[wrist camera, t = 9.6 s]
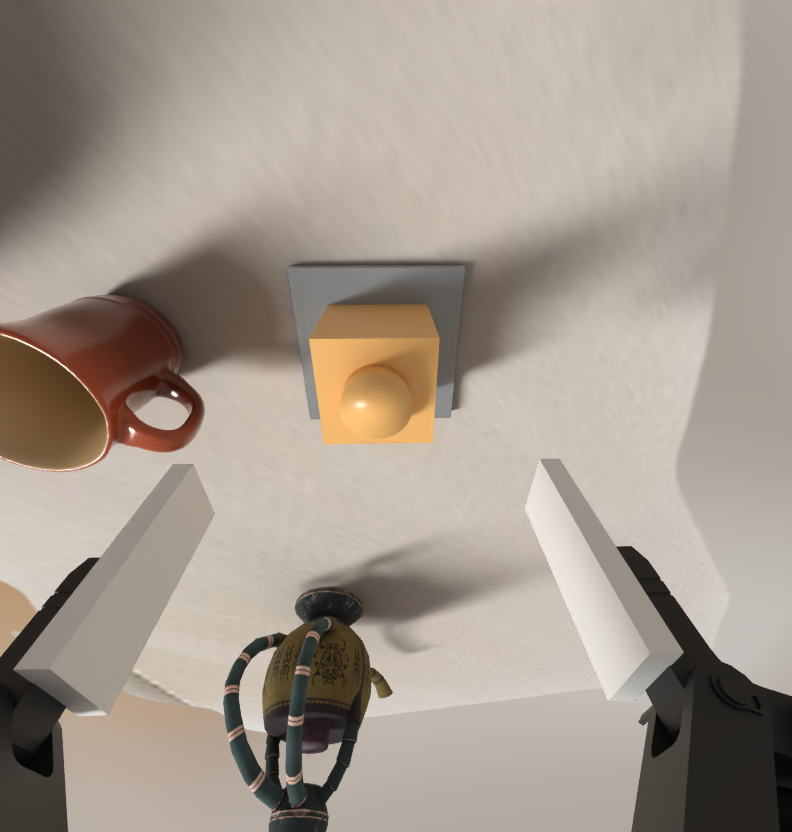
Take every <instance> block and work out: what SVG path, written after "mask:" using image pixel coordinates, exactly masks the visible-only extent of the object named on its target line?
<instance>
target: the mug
mask: <svg viewBox="0 0 792 832" xmlns="http://www.w3.org/2000/svg"><path fill="white" fill-rule="evenodd" d="M182 358H183V349H182V345H181V342H180V340H179V338H178V336H177V334H176V332H175V331H174V329H173V328H172V326H171V325H170V324H169V322H168V321H167V320H166V319H165V318H164V317H163V316H162V315H161V314H160V313H158V312H157V311H156V310H155V309H153V308H152V307H150V306H148V305H147V304H145V303H143V302H141V301H139V300H136V299H133V298H130V297H126V296H121V295H99V296H93V297H84V298H80V299H77V300H74V301H72V302H71V303H68V304H65V305H62V306H59V307H56V308H53V309H51V310H48V311H45V312H43V313H41V314H38V315H36V316H33V317H31V318H28V319H25V320H21V321H16V322H7V323H0V458H1V459H4V460H6V461H9V462H11V463H14V464H17V465H21V466H24V467H28V468H32V469H37V470H43V471H52V472H67V471H76V470H80V469H84V468H87V467H89V466H92V465H94V464H96V463H98V462H99V461H101V460H102V459H104V458H105V457H106V455H107V454H108V453H109V451H110V449H111V448H112V447H113V445H115V444H117V443H120V444H124V445H127V446H132V447H138V448H142V449H145V450H149V451H154V452H173V451H177V450H180V449H182V448H184V447H185V446H187V445H188V444H189V443H190V442H191V441H192V440H193V439H194V437H195V436H196V435H197V433H198V432H199V430H200V428H201V425H202V422H203V419H204V414H205V408H204V402H203V400H202V398H201V396H200V395H199V393H198V392H197V391H196V390H195V389H194V388H193V387H192V386H190V385H189V384H188V383H187V382H186V381H185V380H184V379H183V378H182V377H181V376H179V375H178V374H177V372H178V371H179V369H180V367H181V364H182ZM155 397H165V398H169V399H172V400H175V401H177V402H179V403H180V404H182V405H183V406H184V407H185V408H186V409H187V411H188V413H189V417H188V418H187V420H186V421H185V423H184V424H183V425H182V426H181V427H179V428H178V429H175V430H161V429H157V428H154V427H152V426H149V425H147V424H145V423H144V422H142V421H141V420H140V419H139V418H138V417H137V416H136V415H135V414H134V413H135V412H136V411H138V410H139V409H140V408H142V407H143V406H144V405H146V404H147V403H148V402H150V401H151V400H152V399H153V398H155Z"/></svg>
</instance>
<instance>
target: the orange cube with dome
mask: <svg viewBox="0 0 792 832" xmlns="http://www.w3.org/2000/svg"><path fill="white" fill-rule="evenodd" d="M439 341H440V337H439V335H438V332H437V329H436V327H435V324H434V321H433V319H432V316H431V313H430V311H429V308H428V305H427V304H377V305H328V306H327V308H326V310H325V311H324V313H323V315H322V317H321V319H320V320H319V322H318V324H317V326H316V328H315V329H314V331H313V333H312V335H311V337H310V338H309V342H310V349H311V356H312V363H313V370H314V377H315V385H316V392H317V399H318V406H319V413H320V420H321V427H322V434H323V441H324V444H367V443H433V429H434V414H435V400H436V385H437V370H438V355H439Z"/></svg>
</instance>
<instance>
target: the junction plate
mask: <svg viewBox="0 0 792 832" xmlns="http://www.w3.org/2000/svg"><path fill="white" fill-rule="evenodd" d="M465 270H466V267H465V266H463V265H344V266H289V267H288V268H287V274H288V280H289V286H290V293H291V299H292V305H293V312H294V318H295V324H296V331H297V337H298V344H299V350H300V356H301V363H302V369H303V375H304V382H305V388H306V394H307V401H308V407H309V413H310V419H320V413H319V406H318V399H317V392H316V385H315V377H314V370H313V363H312V356H311V349H310V342H309V338H310V337H311V335H312V333H313V331H314V329H315V328H316V326H317V324H318V322H319V320H320V319H321V317H322V315H323V313H324V311H325V310H326V308H327V306H328V305H377V304H427V305H428V308H429V311H430V313H431V316H432V319H433V321H434V324H435V327H436V329H437V332H438V335H439V337H440V341H439V355H438V370H437V385H436V400H435V414H434V418H451V410H452V400H453V390H454V380H455V370H456V360H457V350H458V340H459V330H460V320H461V310H462V300H463V290H464V280H465Z"/></svg>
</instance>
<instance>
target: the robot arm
mask: <svg viewBox="0 0 792 832" xmlns="http://www.w3.org/2000/svg"><path fill="white" fill-rule="evenodd" d="M525 510H526V512H527V515H528V517H529V519H530V522H531V524H532V526H533V529H534V531H535V533H536V535H537V538H538V540H539V542H540V545H541V547H542V549H543V552H544V554H545V556H546V558H547V561H548V563H549V565H550V568H551V570H552V572H553V575H554V577H555V579H556V582H557V584H558V586H559V588H560V591H561V593H562V595H563V598H564V600H565V602H566V605H567V607H568V609H569V611H570V614H571V616H572V618H573V621H574V623H575V625H576V628H577V630H578V632H579V635H580V637H581V639H582V641H583V644H584V646H585V648H586V651H587V653H588V655H589V658H590V660H591V662H592V665H593V667H594V669H595V671H596V674H597V676H598V678H599V681H600V683H601V685H602V688H603V690H604V692H605V694H606V697H607V699H608V701H626V700H637V699H638V698H639V697H640V696H641V695H642V694H643V693H644V692H645V691H646V692H647V694H648V696H649V698H650V700H651V702H652V704H653V705H652V706H651V707H650V708H649V709H648V710H647V711H646V712H645V713H643V714H642V716H641V718H640V720H639V723H640V724H642V725H644V724H646V723H647V722H648V728H647V734H646V741H645V747H644V754H643V760H642V766H641V773H640V780H639V786H638V792H637V799H636V805H635V812H634V818H633V825H632V832H792V696H789V695H786V694H782V693H779V692H776V691H773V690H770V689H767V688H763V687H761V686H758V685H756V684H753V683H752V682H751V681H750V680H749V679H748V678H747V677H746V676H745V675H744V674H742V673H741V672H739V671H738V670H736V669H735V668H734V667H732V666H731V665H728V664H725V663H723V662H721V661H720V660H719V659H718V658H717V656H716V655H715V654H714V653H713V651H712V650H711V649H710V648H709V646H708V645H707V643H706V642H705V640H704V639H703V638H702V636H701V635H700V633H699V632H698V631H697V629H696V628H695V626H694V625H693V623H692V622H691V621H690V619H689V618H688V616H687V615H686V614H685V612H684V611H683V609H682V608H681V606H680V605H679V604H678V602H677V601H676V599H675V598H674V597H673V596H671V594H670V591H669V589H668V588H667V587H666V585H665V584H664V582H663V581H661V580H660V577H659V575H658V574H657V572H656V571H655V570H654V568H653V567H652V565H651V564H650V563H649V561H648V560H647V559H646V558H644V557H643V556H642V555H641V554H640V553H639V552H637V551H636V550H635V549H634V548H633V547H632V546H621V547H616V546H615V545H614V543H613V541H612V540H611V538H610V537H609V535H608V534H607V532H606V530H605V529H604V527H603V526H602V524H601V523H600V521H599V520H598V518H597V516H596V515H595V513H594V512H593V510H592V509H591V507H590V506H589V504H588V502H587V501H586V499H585V498H584V496H583V495H582V493H581V492H580V490H579V488H578V487H577V485H576V484H575V482H574V481H573V479H572V478H571V476H570V474H569V473H568V471H567V470H566V468H565V467H564V465H563V464H562V462H561V460H560V459H539V463H538V466H537V469H536V473H535V476H534V480H533V483H532V486H531V490H530V493H529V496H528V500H527V503H526V507H525ZM213 516H214V511H213V509H212V507H211V504H210V502H209V500H208V497H207V495H206V492H205V490H204V488H203V485H202V483H201V481H200V478H199V476H198V474H197V471H196V469H195V466H194V464H173V465H172V466H171V468H170V469H169V470H168V471H167V473H166V474H165V475H164V477H163V478H162V479H161V480H160V482H159V483H158V484H157V486H156V487H155V488H154V489H153V491H152V492H151V493H150V495H149V496H148V497H147V498H146V500H145V501H144V502H143V504H142V505H141V506H140V507H139V509H138V510H137V511H136V513H135V514H134V515H133V516H132V518H131V519H130V520H129V522H128V523H127V524H126V525H125V527H124V528H123V529H122V531H121V532H120V533H119V534H118V536H117V537H116V538H115V539H114V541H113V542H112V543H111V545H110V546H109V547H108V548H107V550H106V551H105V552H104V554H103V555H102V556H101V557H100V558H88V559H87V560H86V561H85V562H83V563H82V564H81V565H80V566H78V567H77V568H76V569H75V570H73V571H72V572H71V573H70V574H69V575H68V576H67V577H66V578H65V580H64V581H63V582H62V583H61V584H60V586H59V587H58V588H57V589H56V591H55V594H54V595H52V596H51V597H50V598H49V599H48V600H47V601H46V603H45V604H44V605H43V606H42V610H41V611H38V612H37V613H36V615H35V616H34V617H33V618H32V620H31V621H30V622H29V623H28V624H27V626H26V627H25V628H24V629H23V630H22V632H21V633H20V634H19V635H18V636H17V638H16V639H15V640H14V641H13V643H12V644H11V645H10V646H9V648H8V649H7V650H6V651H5V652H4V653H3V655H2V656H1V657H0V832H68V826H67V809H66V793H65V774H64V757H63V740H62V728H61V726H60V723H59V722H58V720H59V718H60V716H61V715H62V713H63V711H64V710H65V708H67V709H69V710H70V711H71V712H73V713H74V714H76V715H77V716H96V715H108V714H109V712H110V710H111V708H112V706H113V704H114V703H115V701H116V699H117V697H118V695H119V693H120V691H121V689H122V688H123V686H124V684H125V682H126V680H127V678H128V676H129V674H130V672H131V671H132V669H133V667H134V665H135V663H136V661H137V659H138V657H139V656H140V654H141V652H142V650H143V648H144V646H145V644H146V642H147V640H148V639H149V637H150V635H151V633H152V631H153V629H154V627H155V625H156V624H157V622H158V620H159V618H160V616H161V614H162V612H163V610H164V608H165V607H166V605H167V603H168V601H169V599H170V597H171V595H172V593H173V592H174V590H175V588H176V586H177V584H178V582H179V580H180V578H181V576H182V575H183V573H184V571H185V569H186V567H187V565H188V563H189V561H190V560H191V558H192V556H193V554H194V552H195V550H196V548H197V546H198V544H199V543H200V541H201V539H202V537H203V535H204V533H205V531H206V529H207V527H208V526H209V524H210V522H211V520H212V518H213Z"/></svg>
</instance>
